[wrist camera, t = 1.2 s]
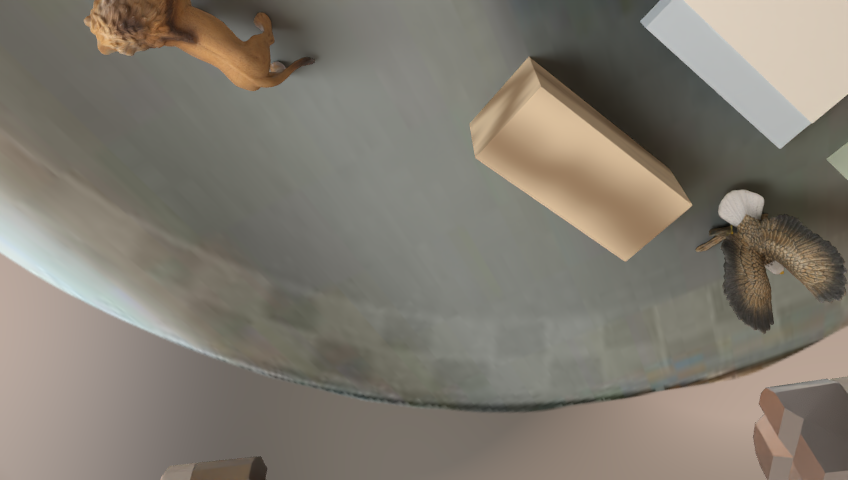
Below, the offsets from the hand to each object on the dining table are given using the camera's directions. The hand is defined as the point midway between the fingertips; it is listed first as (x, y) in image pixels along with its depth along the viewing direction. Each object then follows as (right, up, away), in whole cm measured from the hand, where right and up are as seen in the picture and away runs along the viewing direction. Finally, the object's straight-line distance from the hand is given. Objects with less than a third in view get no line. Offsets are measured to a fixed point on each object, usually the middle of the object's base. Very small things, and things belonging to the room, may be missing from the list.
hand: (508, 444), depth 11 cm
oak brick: (+9, +10, +36) cm, 39 cm away
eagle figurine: (+23, +5, +40) cm, 47 cm away
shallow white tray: (+21, +18, +31) cm, 41 cm away
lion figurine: (-14, +17, +31) cm, 38 cm away
